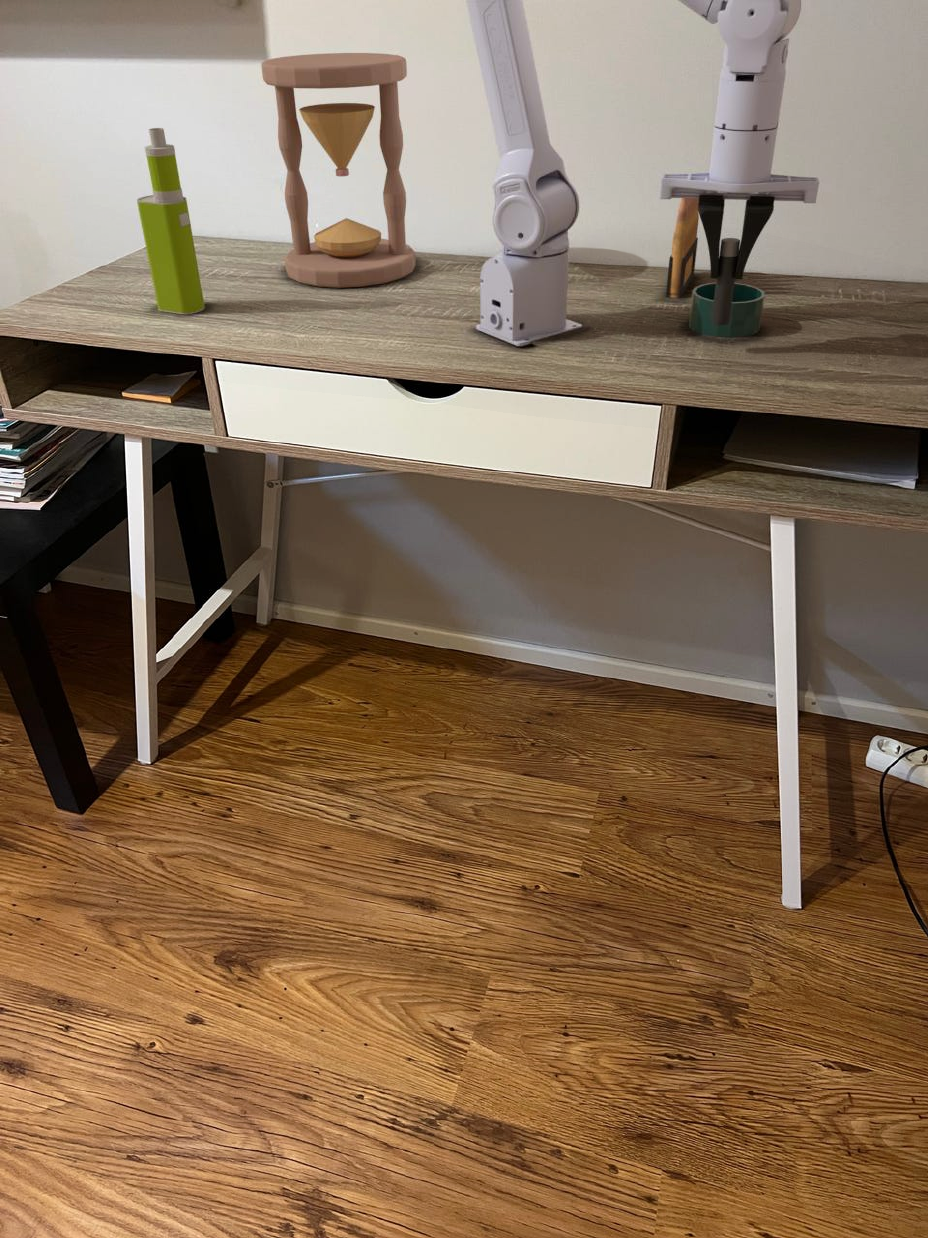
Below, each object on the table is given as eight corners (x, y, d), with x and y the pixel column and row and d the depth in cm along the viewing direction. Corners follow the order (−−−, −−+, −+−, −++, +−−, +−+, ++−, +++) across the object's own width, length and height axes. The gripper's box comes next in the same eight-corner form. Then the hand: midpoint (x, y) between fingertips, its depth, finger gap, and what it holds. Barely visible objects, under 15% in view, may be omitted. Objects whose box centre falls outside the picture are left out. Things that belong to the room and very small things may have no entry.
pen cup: (745, 346, 105) (750, 306, 103) (677, 334, 109) (681, 296, 106) (768, 325, 110) (774, 288, 108) (703, 315, 114) (707, 278, 111)
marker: (720, 326, 100) (731, 243, 95) (707, 322, 101) (717, 239, 96) (732, 322, 101) (744, 240, 96) (719, 318, 102) (729, 236, 97)
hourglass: (263, 283, 128) (234, 65, 114) (318, 249, 142) (298, 51, 128) (389, 292, 124) (375, 67, 109) (432, 256, 137) (425, 52, 123)
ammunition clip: (680, 301, 118) (691, 196, 111) (664, 300, 119) (675, 195, 112) (693, 277, 126) (705, 178, 120) (679, 276, 127) (689, 177, 120)
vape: (191, 315, 118) (159, 132, 106) (153, 309, 120) (116, 129, 108) (211, 306, 120) (181, 127, 109) (172, 301, 122) (139, 124, 111)
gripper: (824, 120, 92) (799, 268, 100) (669, 119, 95) (656, 262, 103) (830, 132, 86) (802, 288, 94) (664, 130, 89) (651, 281, 97)
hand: (726, 276), depth 98 cm, fingers closed on marker, 2 cm apart
